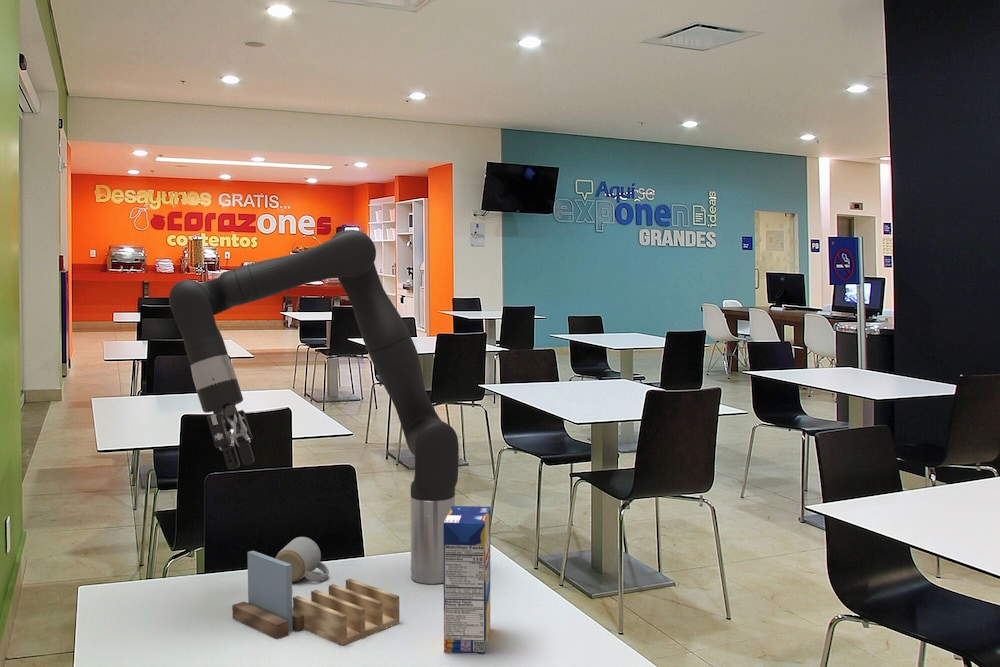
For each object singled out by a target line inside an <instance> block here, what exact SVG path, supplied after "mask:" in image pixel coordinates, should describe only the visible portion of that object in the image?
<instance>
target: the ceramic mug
mask: <svg viewBox="0 0 1000 667" xmlns="http://www.w3.org/2000/svg"><path fill="white" fill-rule="evenodd" d="M321 554H322V553H321V550H320V547H319V545H318V544H317V543H316V542H315V541H314V540H312V539H311V538H310V537H306V536H297V537H295V538H294V539H292V540H291V541H290V542H288V543H287V545H284V547H283V548H282V549H281V550H280V551H278V552H277V554H276V556H275V559H278V560H281V561H283V562H286V563H289V564H292V583H296V582H298V581H301V580H302V579H303V578H305V579H307V580H310V581H312V582H318V583H320V582H321V581H322V582H325V581H326V580H327V578H328V576H329V575H330V574H329V573H330V570H329V567H328V566H326V565H325V563H323V562H321V559H322V555H321ZM316 569H318V570H320V572H322V573H323V574H321V575H320V574H315V573H313V572H314V571H315V570H316Z"/></svg>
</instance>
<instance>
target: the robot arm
mask: <svg viewBox="0 0 1000 667" xmlns="http://www.w3.org/2000/svg"><path fill="white" fill-rule="evenodd" d="M376 257H377V248H376V246H375V243H374V241H373V239H372V238H371V237H370V236H368V235H367V234H366V233H364V232H363V231H360V230H356V229H345V230H342V231H339V232H336V233H335V234H334V235H333V236H332V237H331V238H330V239H329V240H328V239H327V241H324V242H322V243H320V244H318V245H315V246H313V247H311V248H309V249H305V250H302V251H299V252H295V253H292V254H288V255H283V256H278V257H274V258H269V259H264V260H260V261H257V262H256V261H255V262H252V263H248V264H245V265H242V266H239V267H234V268H231V269H229V270H227V271H225V272H224V271H223V272H222V273H221V274H219V276H218V277H215V278H213V279H210V280H207V281H203V282H199V281H197V280H194V279H183V280H179V281H177V282H176V283H175V284H174V285H173V286H172V288H171V289H170V291H169V294H168V302H169V306H170V310H171V312H172V315H173V317H174V321H175V322H176V325H177V327H178V330H179V332H180V334H181V336H182V340H183V344H184V349H185V351H186V356H187V358H188V363H189V365H190V370H191V376H192V380H193V384H194V386H195V389H196V393H197V397H198V400H199V402H200V406H201V409H202V411H203V413H206V414H208V413H213V414H209V415H207V416H206V420H207V421H206V422H207V424H208V427H209V431H210V433H211V434H210V435H211V438H212V441H213V442H212V443H213V445H214V447H215V448H216V449H218V448H219V450H220V451H221V452H222V455H223V457H224V458H223V459H224V462H225V465H226V468H227V469H228V470H233V469H236V468H239V467H240V465H241V463H242V465H244V466H247V465H251V464H253V463H254V462H255V457H254V454H253V450H252V447H251V440H252V439H253V434H252V431H251V428H250V425H249V422H248V419H247V416H246V413H245V411H244V409H241V410H238V408H237V406H236V405H239V404H240V403H242V402H243V401H244V398H243V395H242V394H243V393H242V391H241V388H240V384H239V382H238V377H237V374H236V371H235V369H234V365H233V363H232V362H231V359H230V356H229V354H228V351H227V347H226V344H225V341H224V337H223V336H222V333H221V332H220V329H219V328H218V326H217V322H216V320H215V316H216V315H219V314H220V313H222V312H225V311H227V310H230V309H232V308H234V307H237V306H243V305H245V304H249V303H252V302H256V301H259V300H263V299H265V298H268V297H272V296H275V295H277V294H280V293H283V292H286V291H289V290H292V289H295V288H297V287H301V286H304V285H306V284H310V283H314V282H318V281H324V280H328V279H337V280H338V281H339V283H340V285H341V287H342V288H343V290H344V292H345V294H346V296H347V298H348V300H349V302H350V304H351V308H352V310H353V314H354V317H355V320H356V323H357V326H358V329H359V332H360V334H361V337H362V340H363V343H364V346H365V348H366V351H367V352H368V355H369V358H370V360H371V362H372V364H373V367H374V369H375V371H376V373H377V374H378V377H379V378H380V380H381V383H382V385H383V386H384V389H385V391H386V392H387V394H388V396H389V398H390V400H391V401H392V403H393V406H394V408H395V410H396V413H397V416H398V419H399V422H400V425H401V428H402V431H403V436H404V438H405V442H406V444H407V447H408V449H409V451H410V453H411V454H412V455H413V456H414V477H413V481H412V482H411V483H410V578H411V579H412V580H413V581H414V582H416V583H420V584H426V585H427V584H430V585H433V584H434V585H435V584H442V583H443V584H444V521H445V519H446V517H447V515H448V513H449V511H450V509H451V507H452V506H456V486H457V483H458V480H459V458H460V457H459V455H460V454H459V453H460V451H459V447H460V446H459V438H458V434H457V432H456V430H455V429H454V428H453V427H452V425H450V424H448V423H447V422H444V421H443V420H442V419H441V418H440V416H439V415H438V414H437V411H436V410H435V408H434V406H433V404H432V402H431V400H430V398H429V395H428V393H427V391H426V390H427V389H426V387H425V382H424V377H423V376H424V375H423V371H422V363H421V360H420V356H419V353H418V350H417V348H416V345H415V343H414V340H413V339H412V336H411V334H410V331H409V329H408V327H407V326H406V323H405V322H404V320H403V318H402V316H401V314H400V313H399V311H398V310H397V308H396V307H395V305H394V303H393V302H392V300H391V298H389V296H388V294H387V292H386V291H385V289H384V287H383V284H382V282H381V279H380V276H379V273H378V270H377V267H376V265H375V261H376ZM235 444H236V446H237V450H238V452H239V455H238V452H237V450H236V446H235ZM239 456H240V459H239ZM240 460H241V462H240Z"/></svg>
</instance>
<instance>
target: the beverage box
mask: <svg viewBox="0 0 1000 667" xmlns="http://www.w3.org/2000/svg"><path fill="white" fill-rule="evenodd" d="M490 631H491V506H479V505H478V506H477V505H476V506H473V505H472V506H471V505H467V506H466V505H455V506H452V507H451V509H450V511H449V513H448V515H447V517H446V519H445V521H444V583H443V653H444V652H448V653H447V654H462V653H482V654H481V655H485V654H486V651H487V645H488V642H487V641H488V640H489V637H488V636H490ZM485 650H486V651H485ZM450 652H452V653H450ZM484 653H485V654H484Z"/></svg>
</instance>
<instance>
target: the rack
mask: <svg viewBox="0 0 1000 667" xmlns="http://www.w3.org/2000/svg"><path fill="white" fill-rule="evenodd" d="M310 596H311V597H310V598H311V599H307V598H305V597H302V596H299V595H296V596H292V607H293V611H295V612H297V613H300V614H302V615H304V629H303V630H305V631H308V632H310V633H312V634H315V635H317V636H319V637H321V638H324V639H326V640H329V641H330V642H333V643H335V644H338V645H340V646H342V647H343V646H345V645H348V644H350V643H354V642H356V641H359V640H361V639H363V638H365V637H368V636H370V634H371V635H373V634H375V632H376V633H377V631H378V632H381V631H383V630H385V629H384V628H386V627H388V628H390V627H389V626H391V625H393V626H395V625H394V624H396V625H398V624H400V595H397V594H394V593H392V592H389V591H386V590H384V589H380V588H378V587H375V586H372V585H370V584H367V583H363V582H361V581H358V580H355V579H352V578H347V579H345V587H342V586H339V585H336V584H334V583H332V584H329V585H328V593H325V592H322V591H320V590H317V589H314V590H311V591H310ZM397 623H398V624H397ZM391 627H392V626H391ZM382 629H383V630H382ZM386 629H387V628H386ZM380 630H381V631H380ZM372 633H373V634H372Z"/></svg>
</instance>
